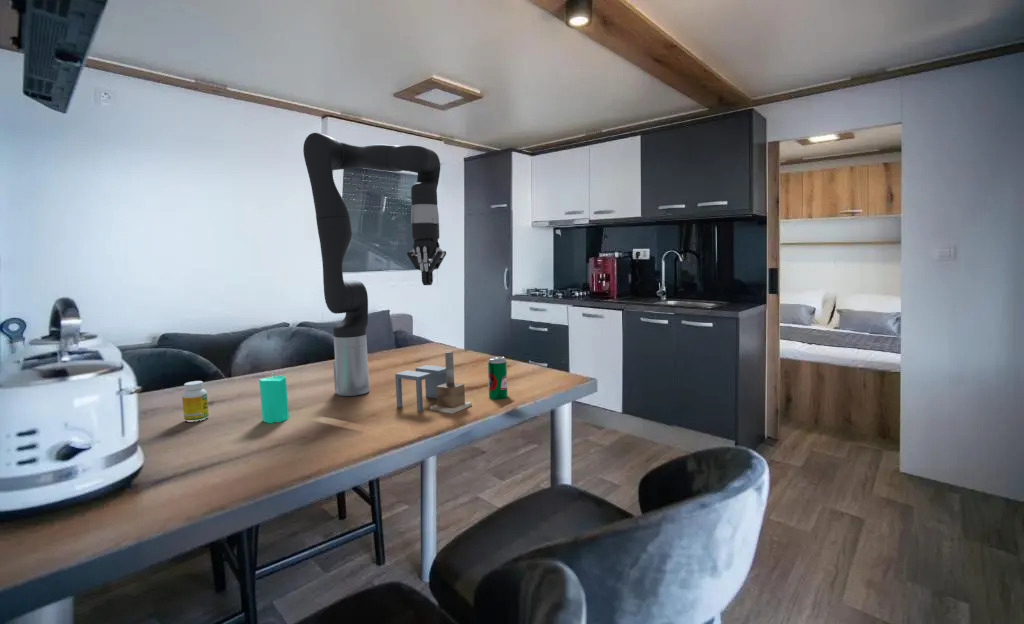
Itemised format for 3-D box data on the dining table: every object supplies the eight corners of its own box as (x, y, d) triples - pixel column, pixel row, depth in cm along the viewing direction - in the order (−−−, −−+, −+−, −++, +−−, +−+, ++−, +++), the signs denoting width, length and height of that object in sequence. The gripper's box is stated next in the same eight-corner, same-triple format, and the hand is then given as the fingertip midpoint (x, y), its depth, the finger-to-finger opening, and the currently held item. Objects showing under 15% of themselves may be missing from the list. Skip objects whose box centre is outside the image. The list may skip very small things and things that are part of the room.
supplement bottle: (185, 418, 130) (182, 381, 129) (210, 415, 133) (206, 379, 132) (183, 424, 125) (179, 386, 124) (208, 421, 128) (204, 383, 127)
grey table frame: (364, 407, 137) (362, 370, 135) (402, 394, 148) (400, 360, 147) (442, 422, 122) (440, 381, 121) (477, 407, 134) (475, 369, 133)
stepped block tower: (430, 409, 128) (427, 354, 126) (450, 401, 135) (448, 348, 133) (452, 413, 124) (449, 356, 123) (471, 405, 131) (469, 350, 129)
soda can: (505, 404, 136) (504, 360, 134) (487, 403, 137) (485, 359, 135) (509, 399, 141) (508, 356, 139) (491, 398, 142) (490, 356, 140)
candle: (262, 424, 124) (259, 376, 123) (262, 418, 129) (258, 371, 128) (289, 420, 127) (286, 373, 125) (288, 414, 132) (284, 368, 131)
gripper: (397, 222, 141) (400, 285, 143) (434, 220, 134) (436, 286, 136) (416, 224, 147) (419, 284, 149) (452, 221, 140) (454, 284, 142)
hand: (427, 285), depth 142 cm, fingers closed
